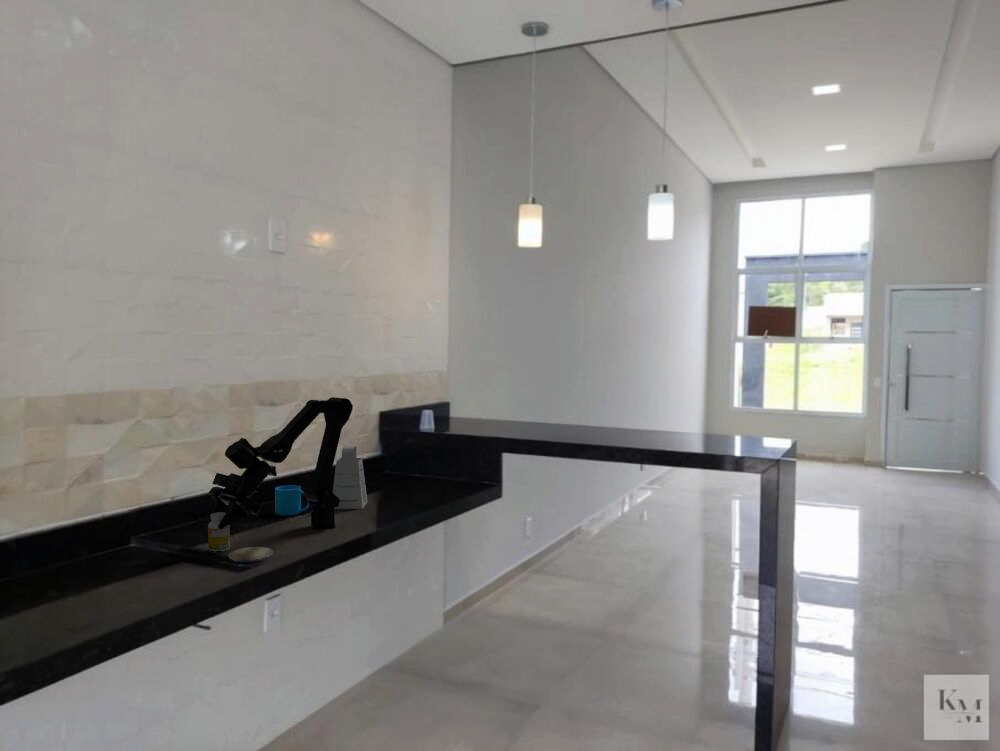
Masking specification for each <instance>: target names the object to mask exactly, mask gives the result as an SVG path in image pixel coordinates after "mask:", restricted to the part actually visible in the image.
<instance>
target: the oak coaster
mask: <svg viewBox="0 0 1000 751" xmlns="http://www.w3.org/2000/svg"><path fill="white" fill-rule="evenodd" d="M272 554H273V555H274V549H272V548H270V547H265V546H250V547H249V546H248V547H241V548H237V549H235V550H232V551H230V552H229V553H228V555H227V558H228V557H229V558H230V559H232V560H234V561H240V560H256V559H262V558H265V557H269V556H270V555H272Z"/></svg>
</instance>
